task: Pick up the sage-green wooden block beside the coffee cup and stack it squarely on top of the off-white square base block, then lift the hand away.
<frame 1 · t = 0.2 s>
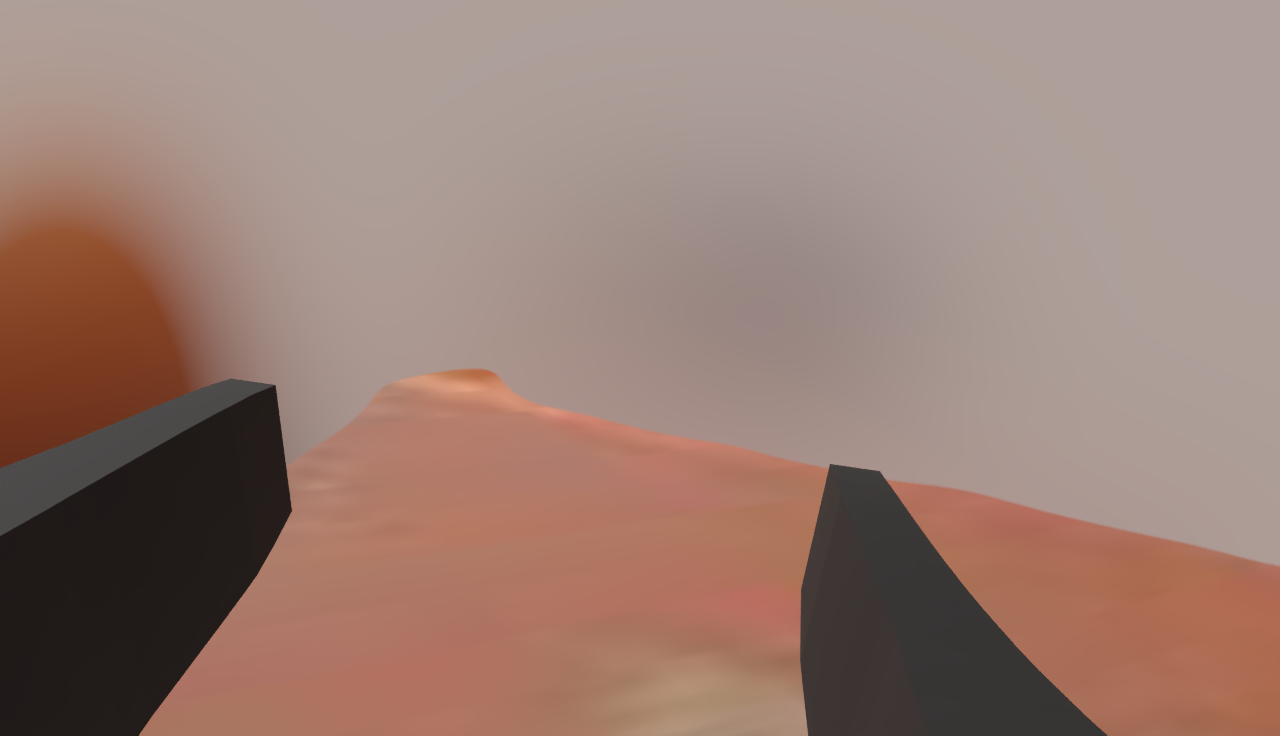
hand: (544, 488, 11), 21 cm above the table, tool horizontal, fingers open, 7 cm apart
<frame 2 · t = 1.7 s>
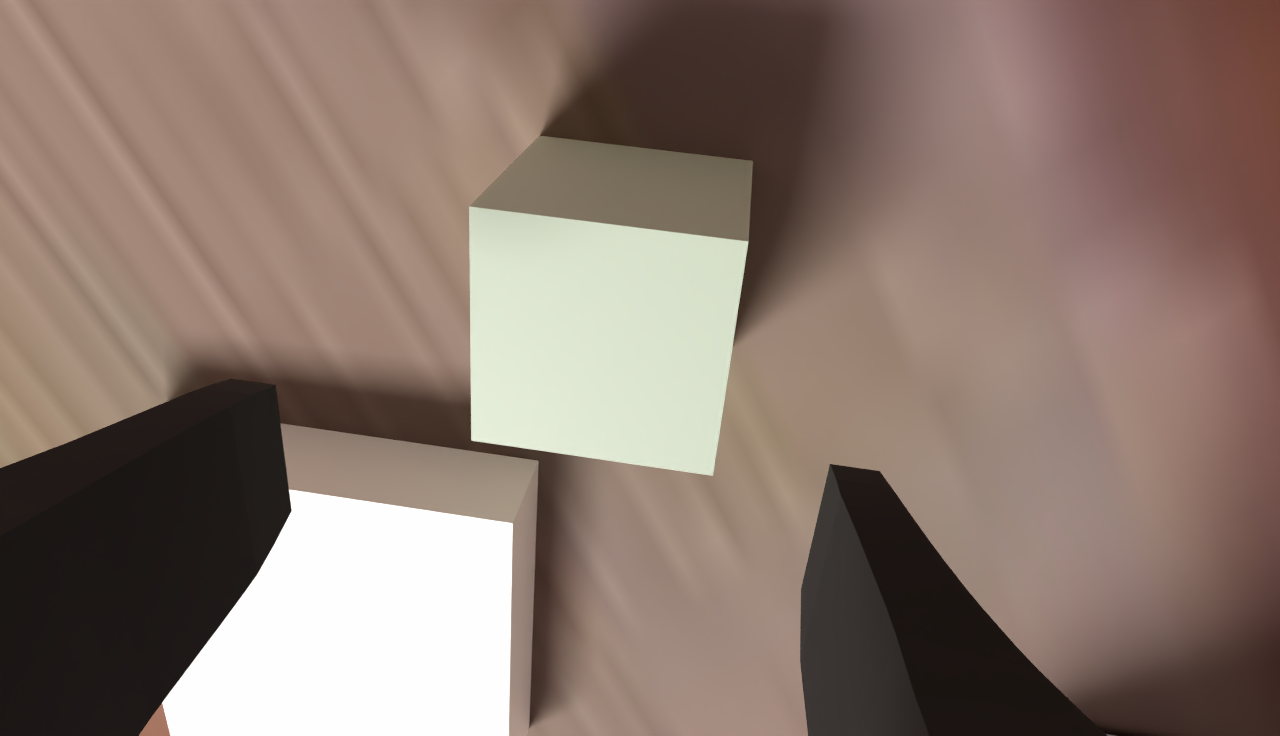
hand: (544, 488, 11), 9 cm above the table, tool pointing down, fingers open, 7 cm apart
sage block: (636, 248, 19), on the table
base block: (368, 570, 25), on the table
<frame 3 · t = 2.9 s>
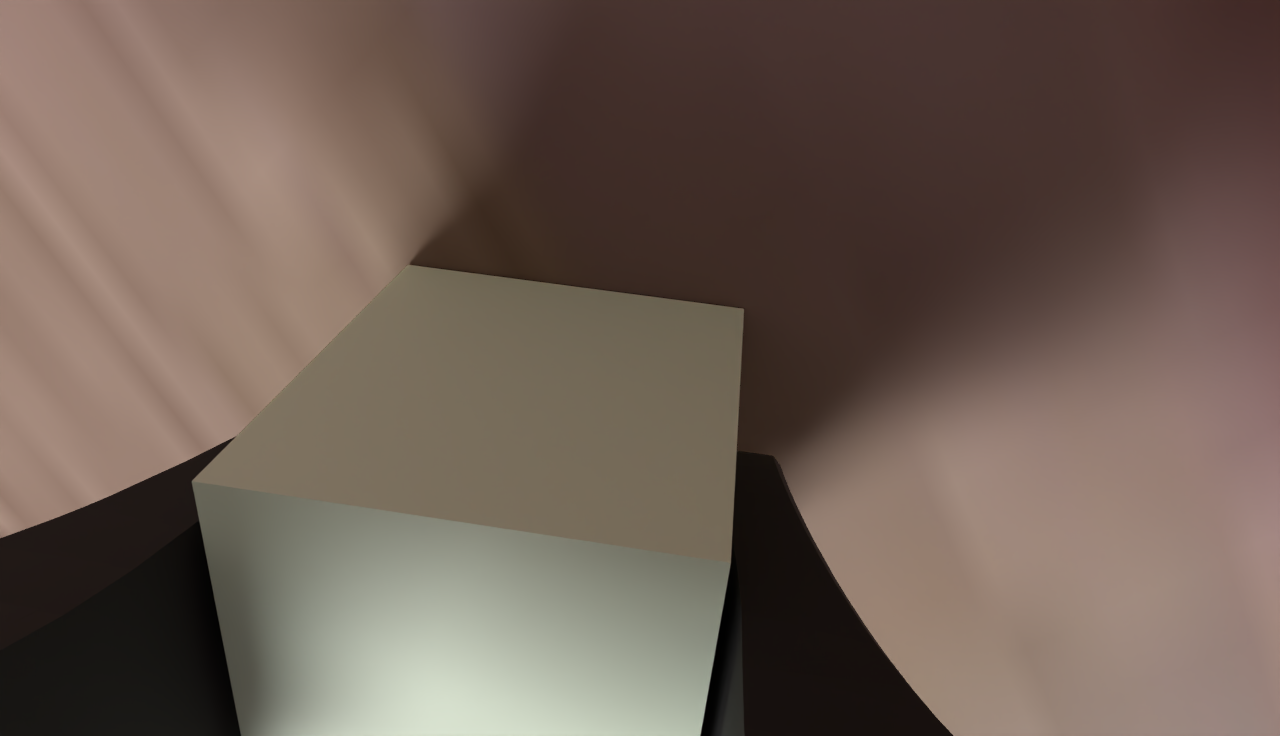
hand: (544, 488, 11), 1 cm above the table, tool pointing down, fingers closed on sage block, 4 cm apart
sage block: (565, 430, 13), on the table, touching gripper
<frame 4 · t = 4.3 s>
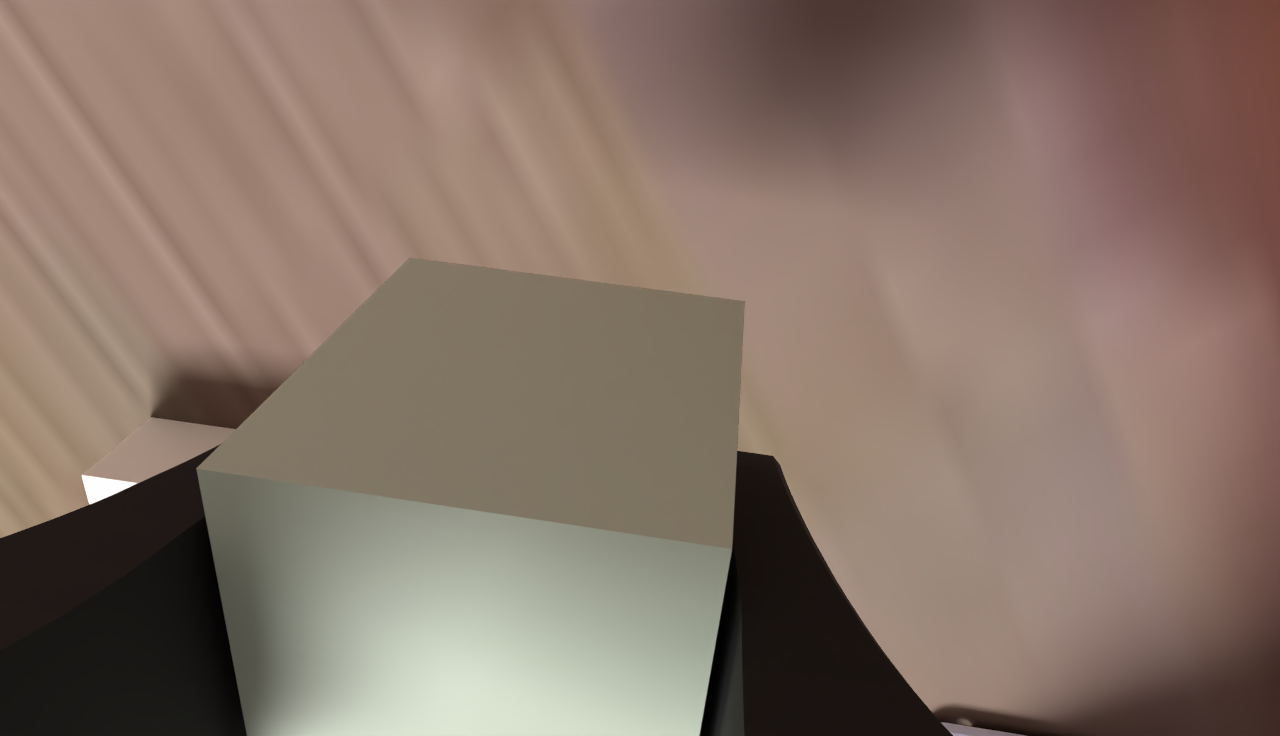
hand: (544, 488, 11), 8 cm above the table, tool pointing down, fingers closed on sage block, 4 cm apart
sage block: (567, 423, 13), point 7 cm above the table, touching gripper
base block: (359, 582, 25), on the table
when the fingers open (6 cm above the table, at t = 6.0 s): sage block drops 2 cm, resting on base block.
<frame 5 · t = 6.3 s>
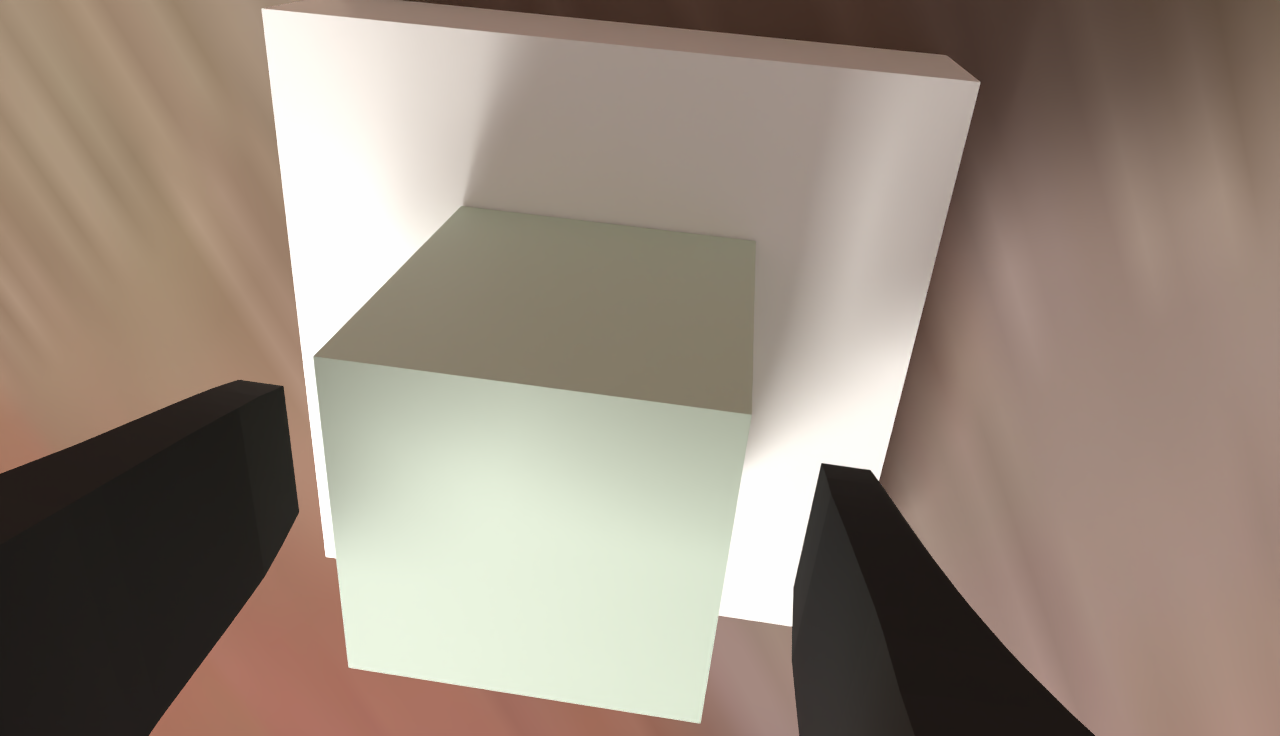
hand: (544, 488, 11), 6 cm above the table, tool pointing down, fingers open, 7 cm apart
sage block: (598, 354, 14), point 2 cm above the table, touching base block
base block: (617, 293, 17), on the table, touching sage block
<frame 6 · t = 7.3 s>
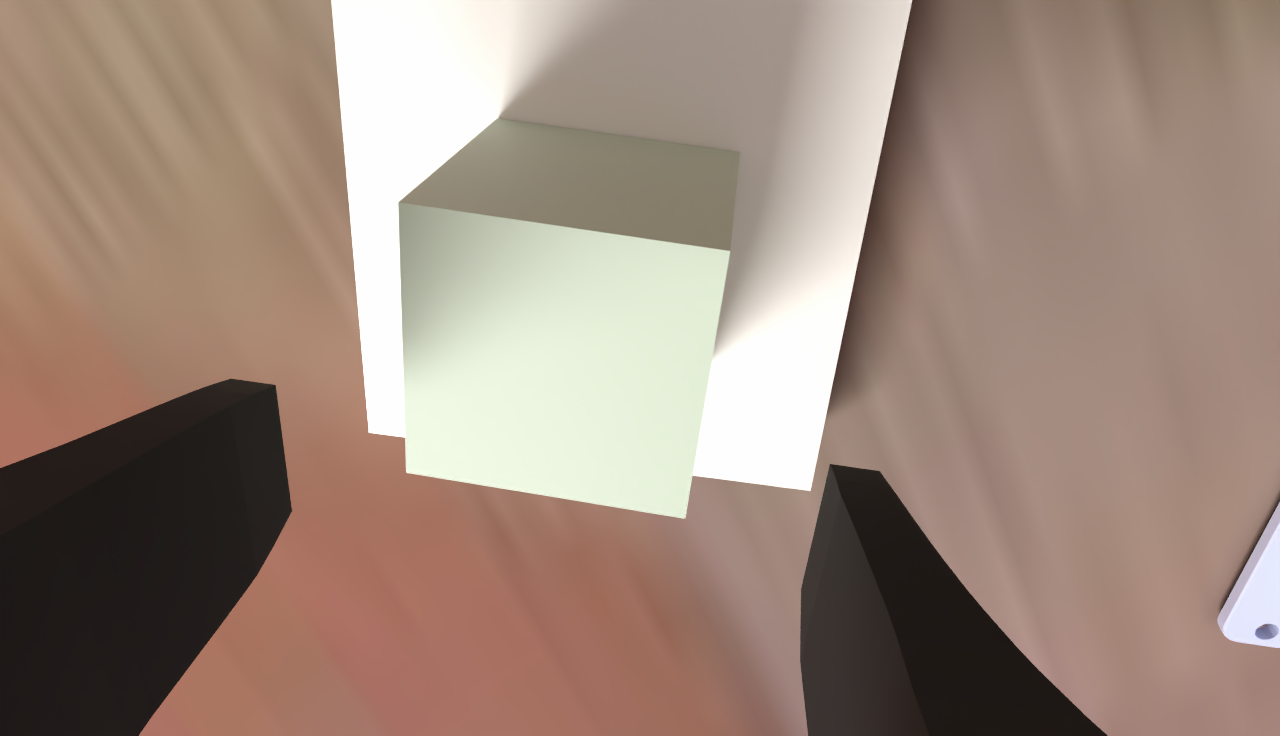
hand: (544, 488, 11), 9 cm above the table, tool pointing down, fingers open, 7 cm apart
sage block: (606, 249, 17), point 2 cm above the table, touching base block
base block: (618, 204, 20), on the table, touching sage block
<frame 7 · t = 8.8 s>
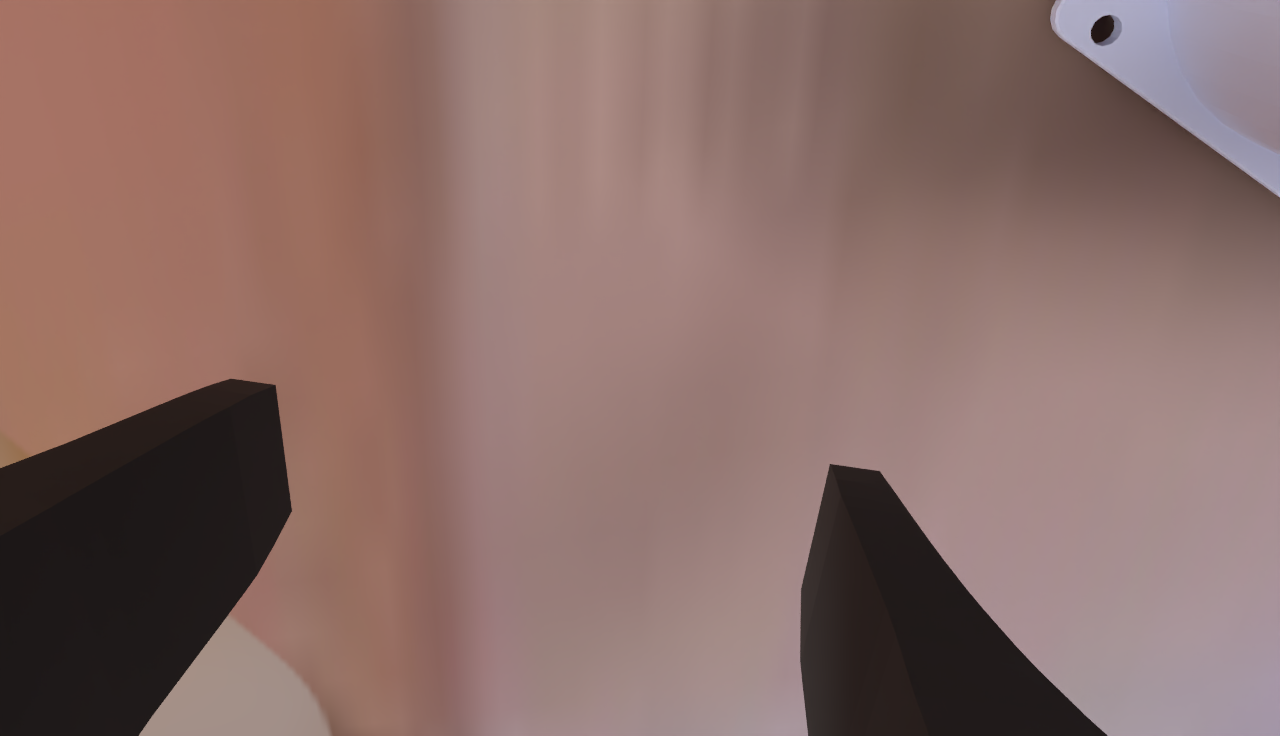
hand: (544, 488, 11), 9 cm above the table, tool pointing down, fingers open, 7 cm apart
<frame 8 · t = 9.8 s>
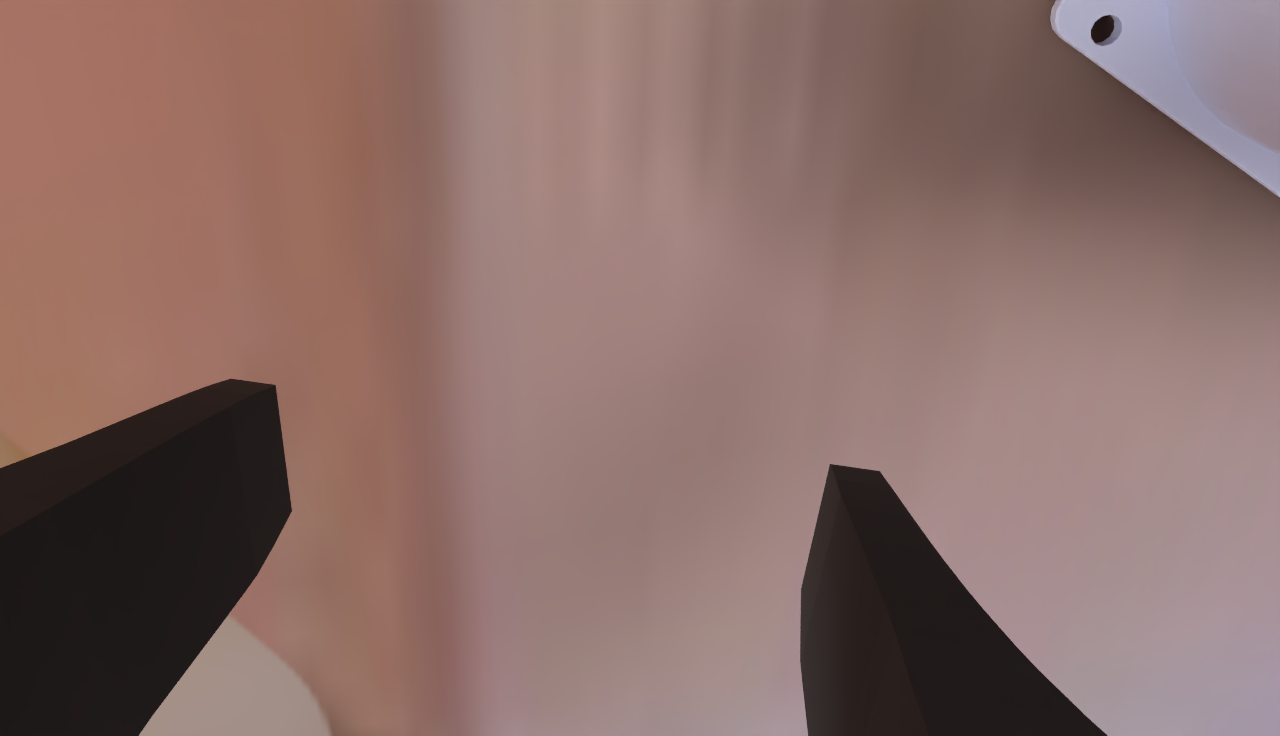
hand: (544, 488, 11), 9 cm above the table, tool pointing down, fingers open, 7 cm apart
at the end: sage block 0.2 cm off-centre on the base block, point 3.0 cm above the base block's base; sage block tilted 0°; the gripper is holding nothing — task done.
